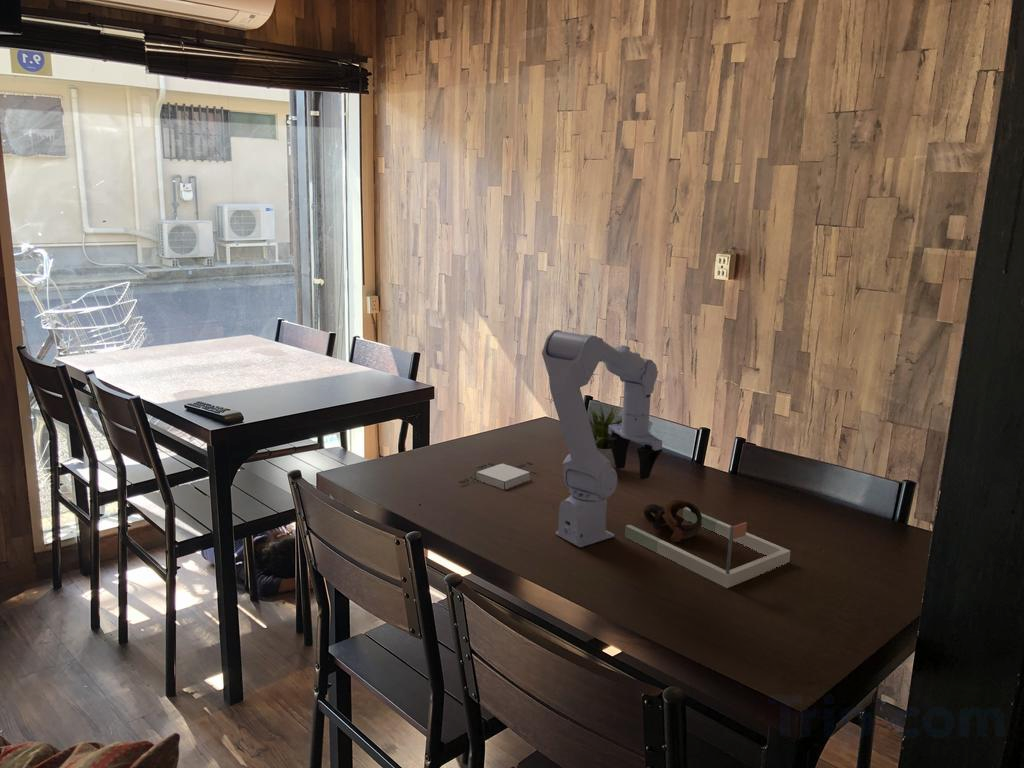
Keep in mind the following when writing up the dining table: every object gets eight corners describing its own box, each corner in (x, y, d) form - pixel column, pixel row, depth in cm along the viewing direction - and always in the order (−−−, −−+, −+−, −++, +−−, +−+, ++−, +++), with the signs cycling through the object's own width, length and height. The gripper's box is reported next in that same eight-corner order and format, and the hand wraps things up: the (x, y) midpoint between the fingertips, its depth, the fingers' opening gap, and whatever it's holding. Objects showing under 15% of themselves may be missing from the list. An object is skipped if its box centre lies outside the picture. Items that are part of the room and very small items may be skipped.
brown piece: (694, 526, 172) (707, 502, 166) (690, 561, 165) (704, 537, 159) (640, 509, 173) (651, 484, 167) (634, 543, 166) (645, 518, 160)
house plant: (629, 482, 196) (632, 417, 192) (572, 476, 199) (575, 413, 195) (632, 463, 210) (636, 403, 206) (579, 458, 212) (582, 399, 209)
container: (488, 497, 185) (488, 486, 185) (454, 484, 193) (454, 474, 192) (544, 476, 200) (544, 466, 200) (510, 465, 208) (510, 455, 207)
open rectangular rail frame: (726, 588, 144) (732, 528, 141) (624, 537, 165) (628, 484, 162) (789, 562, 155) (795, 506, 152) (686, 517, 175) (690, 467, 172)
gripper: (674, 418, 168) (669, 479, 171) (626, 403, 180) (622, 460, 183) (650, 422, 164) (645, 485, 167) (602, 407, 176) (599, 466, 179)
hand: (632, 473), depth 175 cm, fingers open, 7 cm apart
